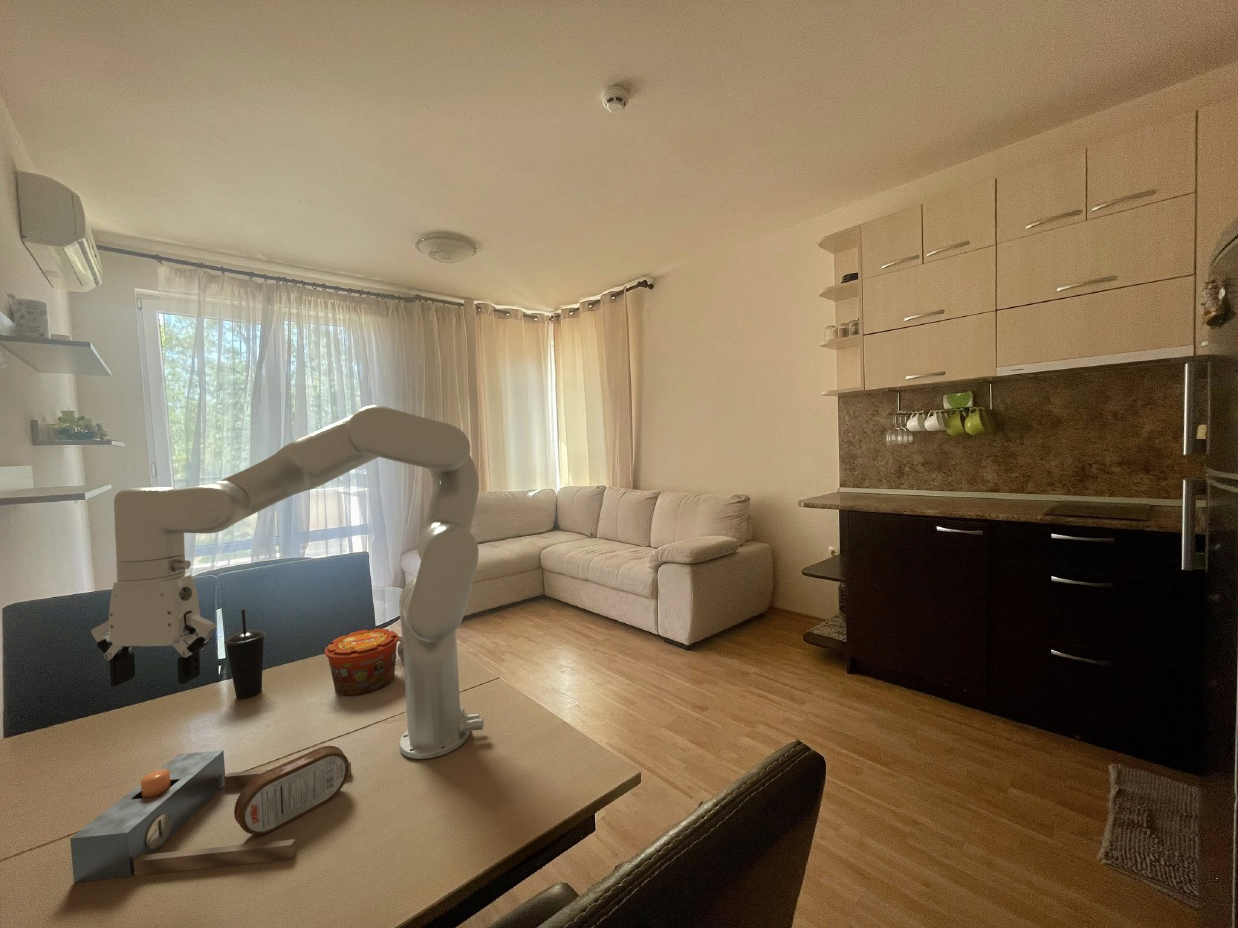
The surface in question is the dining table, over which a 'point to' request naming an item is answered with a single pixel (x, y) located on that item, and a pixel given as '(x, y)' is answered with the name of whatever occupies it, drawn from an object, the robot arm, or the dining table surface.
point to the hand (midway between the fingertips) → (156, 680)
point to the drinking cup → (246, 660)
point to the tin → (291, 790)
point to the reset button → (155, 783)
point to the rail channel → (219, 854)
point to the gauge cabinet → (146, 818)
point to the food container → (362, 661)
